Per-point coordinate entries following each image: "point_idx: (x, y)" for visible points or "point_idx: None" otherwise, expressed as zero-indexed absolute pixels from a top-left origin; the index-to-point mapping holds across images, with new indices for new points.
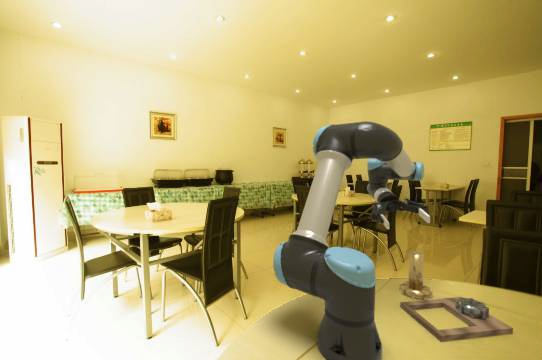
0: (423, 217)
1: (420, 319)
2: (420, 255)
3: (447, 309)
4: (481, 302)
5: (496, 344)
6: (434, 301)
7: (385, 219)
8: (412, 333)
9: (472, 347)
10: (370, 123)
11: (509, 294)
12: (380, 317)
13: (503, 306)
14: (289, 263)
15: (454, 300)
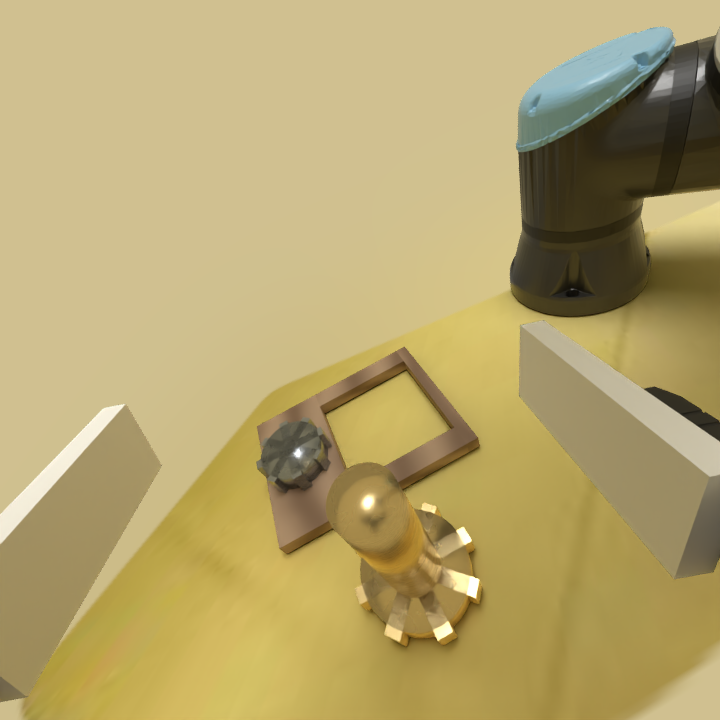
0: (104, 522)
1: (432, 381)
2: (351, 471)
3: None
4: (260, 464)
5: (313, 391)
6: None
7: (577, 356)
8: (455, 357)
9: (358, 367)
10: None
11: (83, 691)
12: None
13: (182, 569)
14: None
15: (310, 513)
